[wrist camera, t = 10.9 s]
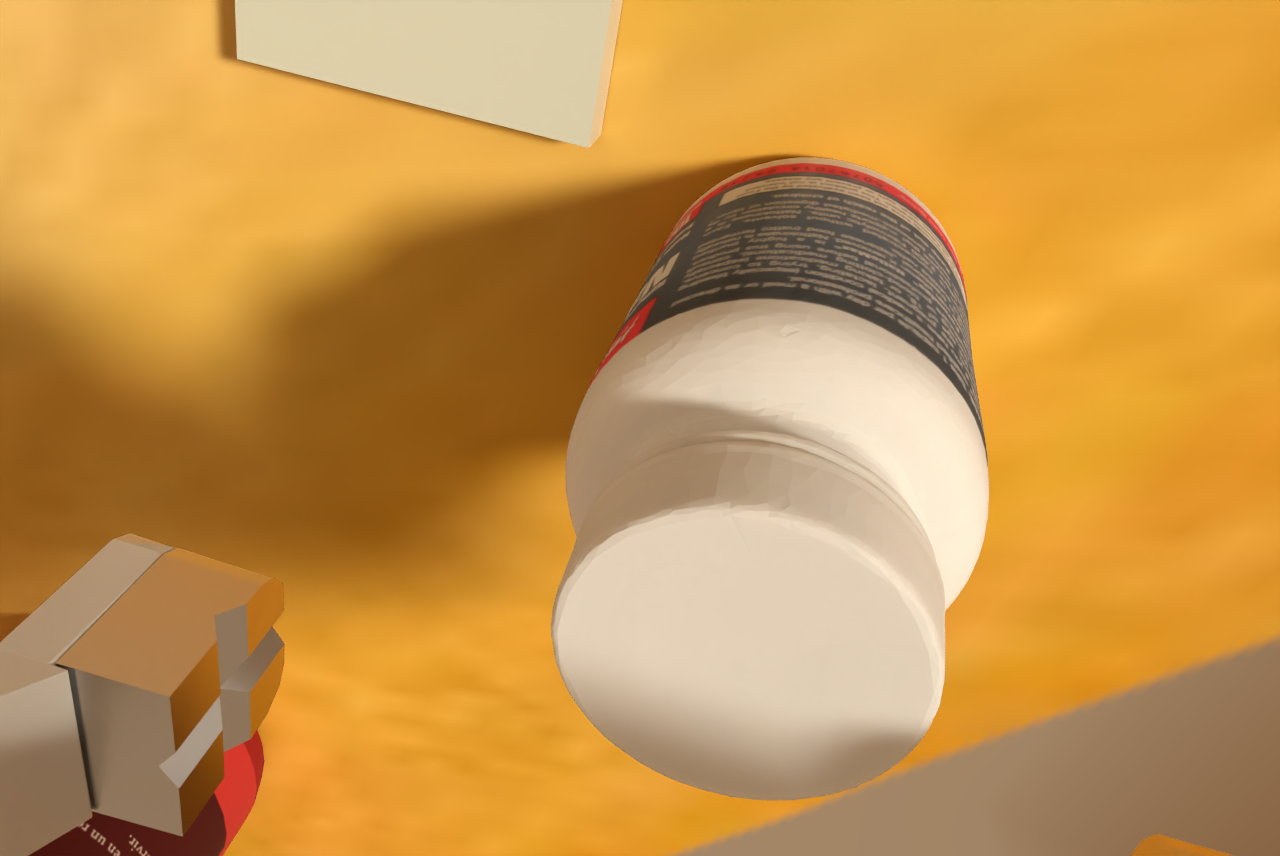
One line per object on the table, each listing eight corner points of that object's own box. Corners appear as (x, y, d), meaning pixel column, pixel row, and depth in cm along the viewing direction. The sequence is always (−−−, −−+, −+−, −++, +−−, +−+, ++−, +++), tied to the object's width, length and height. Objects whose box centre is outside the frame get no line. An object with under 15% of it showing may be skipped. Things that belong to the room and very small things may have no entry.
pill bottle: (662, 136, 16) (473, 400, 9) (993, 165, 16) (1083, 484, 8) (651, 414, 19) (499, 790, 12) (932, 452, 18) (957, 883, 11)
